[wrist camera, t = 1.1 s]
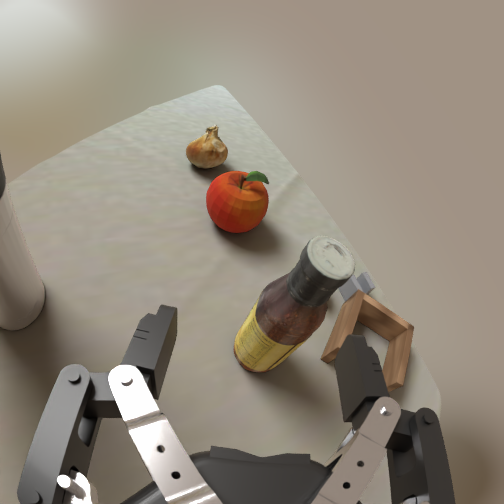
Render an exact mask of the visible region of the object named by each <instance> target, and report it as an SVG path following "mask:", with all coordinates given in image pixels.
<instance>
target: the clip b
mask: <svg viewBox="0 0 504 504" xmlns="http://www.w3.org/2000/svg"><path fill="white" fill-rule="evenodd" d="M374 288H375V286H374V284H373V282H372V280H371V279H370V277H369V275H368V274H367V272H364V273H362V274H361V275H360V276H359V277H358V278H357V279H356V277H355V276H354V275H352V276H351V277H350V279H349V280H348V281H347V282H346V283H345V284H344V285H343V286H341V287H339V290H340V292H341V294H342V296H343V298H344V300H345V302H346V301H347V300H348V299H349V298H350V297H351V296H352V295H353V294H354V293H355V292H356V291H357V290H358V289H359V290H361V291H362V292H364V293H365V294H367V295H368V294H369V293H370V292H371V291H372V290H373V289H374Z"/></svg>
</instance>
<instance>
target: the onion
mask: <svg viewBox="0 0 504 504" xmlns="http://www.w3.org/2000/svg"><path fill="white" fill-rule="evenodd" d="M216 126H217V125H214V126H212V127H208V128H207V129H206V134H205V135H203V136H202V137H200V138H198V139H197V140H195V141H193V142H191V143H190V144H189V145H188V147H187V149H186V155H187V158H188V159H189V161H190V162H191V163H193V164H194V165H196V167H198V168H203V169H204V168H205V169H207V168H213V167H217V166H218V165H220V164H222V163H223V162H224V161H225V160H226V158H227V154H228V150H227V147H226V146H225V144H224V143H223V142H222V141H221V139H220V138H219V137H218V128H219V127H216Z"/></svg>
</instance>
